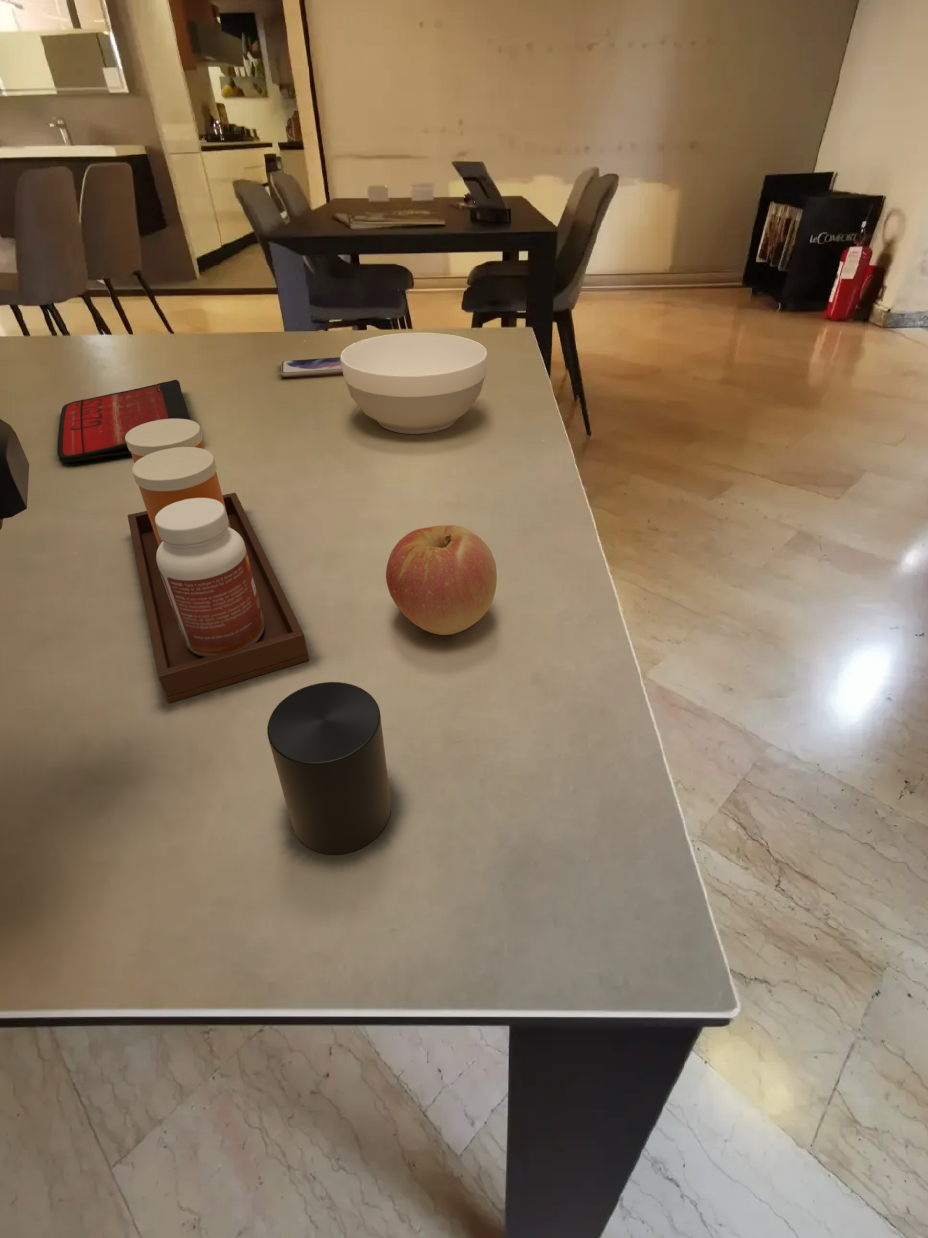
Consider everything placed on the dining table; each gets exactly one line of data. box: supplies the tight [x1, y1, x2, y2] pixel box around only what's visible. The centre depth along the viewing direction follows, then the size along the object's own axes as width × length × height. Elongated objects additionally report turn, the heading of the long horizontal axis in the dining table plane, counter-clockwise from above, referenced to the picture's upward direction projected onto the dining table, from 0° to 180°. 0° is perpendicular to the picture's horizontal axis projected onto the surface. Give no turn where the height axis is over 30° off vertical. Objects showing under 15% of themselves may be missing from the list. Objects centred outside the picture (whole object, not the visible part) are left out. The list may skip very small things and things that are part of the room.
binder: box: [56, 379, 192, 463], centre depth 88 cm, size 16×2×21 cm
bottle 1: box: [125, 419, 206, 464], centre depth 61 cm, size 6×6×11 cm
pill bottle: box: [155, 498, 264, 657], centre depth 50 cm, size 6×6×11 cm
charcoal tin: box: [266, 681, 392, 855], centre depth 38 cm, size 6×6×8 cm
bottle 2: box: [131, 447, 231, 546], centre depth 56 cm, size 6×6×11 cm
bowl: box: [339, 332, 488, 435], centre depth 88 cm, size 19×19×9 cm
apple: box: [385, 524, 498, 636], centre depth 53 cm, size 9×9×8 cm
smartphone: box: [280, 356, 343, 378], centre depth 107 cm, size 7×1×15 cm
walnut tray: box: [127, 492, 310, 704], centre depth 58 cm, size 26×10×3 cm, turn 26°
